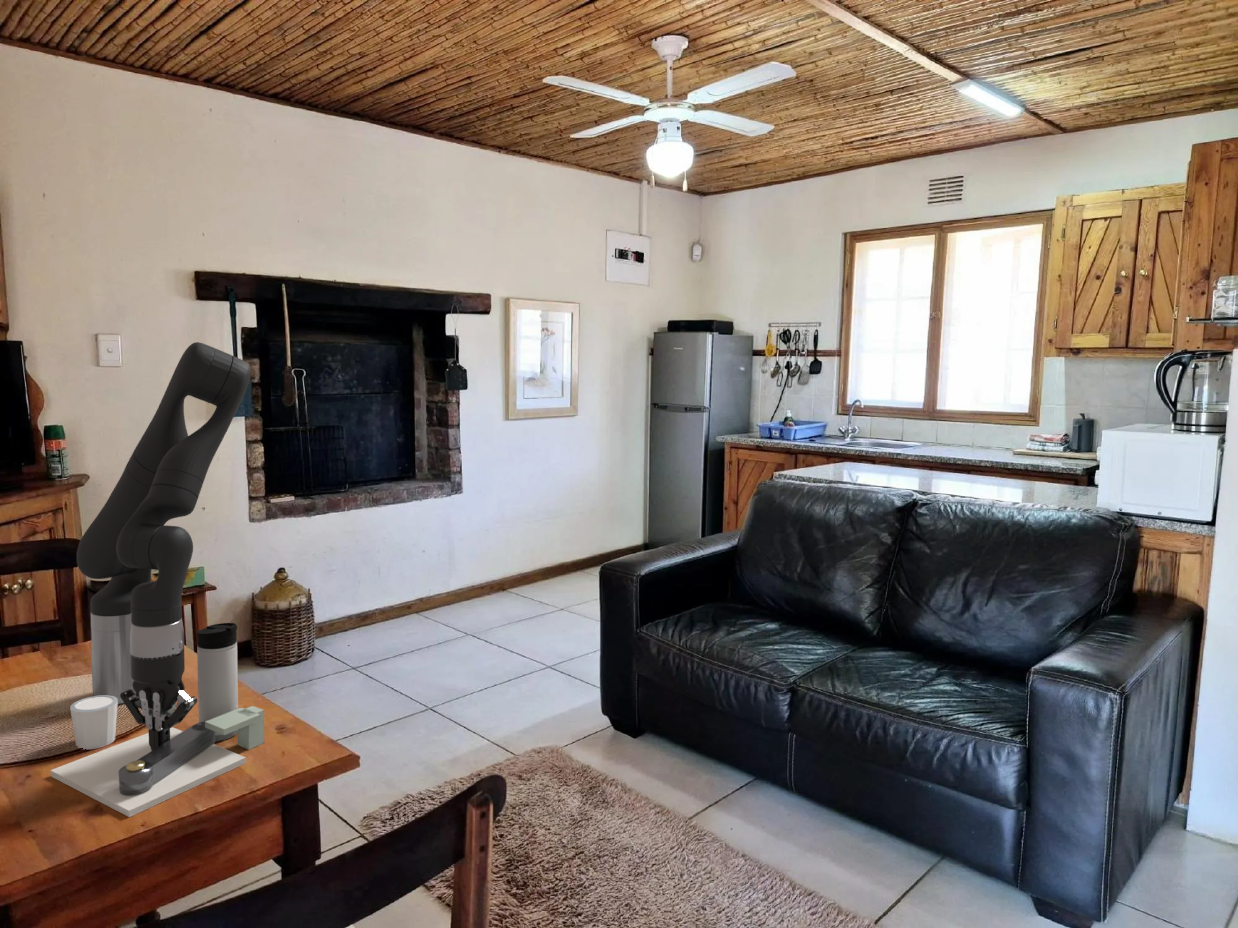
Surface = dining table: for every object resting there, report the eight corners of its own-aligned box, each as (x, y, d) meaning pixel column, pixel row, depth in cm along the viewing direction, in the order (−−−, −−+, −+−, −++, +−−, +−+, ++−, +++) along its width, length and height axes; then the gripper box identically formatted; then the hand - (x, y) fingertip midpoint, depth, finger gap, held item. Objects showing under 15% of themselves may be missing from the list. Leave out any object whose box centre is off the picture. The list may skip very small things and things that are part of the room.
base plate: (50, 776, 127) (50, 770, 127) (168, 730, 143) (168, 725, 143) (129, 817, 117) (129, 810, 117) (245, 763, 133) (245, 757, 133)
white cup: (113, 728, 143) (112, 691, 142) (124, 742, 138) (122, 703, 137) (67, 740, 138) (65, 701, 137) (76, 755, 134) (74, 714, 133)
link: (138, 796, 120) (137, 773, 119) (112, 792, 121) (111, 769, 120) (222, 739, 138) (222, 718, 138) (199, 736, 139) (199, 715, 139)
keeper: (205, 755, 135) (205, 721, 134) (249, 736, 142) (248, 704, 142) (224, 763, 133) (224, 729, 132) (268, 744, 140) (267, 711, 139)
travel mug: (224, 744, 139) (222, 632, 137) (190, 739, 140) (188, 628, 138) (247, 728, 145) (246, 621, 143) (215, 723, 147) (213, 617, 144)
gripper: (102, 649, 127) (106, 753, 129) (176, 660, 124) (178, 766, 127) (140, 634, 134) (142, 732, 137) (210, 644, 132) (211, 744, 134)
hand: (159, 748), depth 132 cm, fingers closed
